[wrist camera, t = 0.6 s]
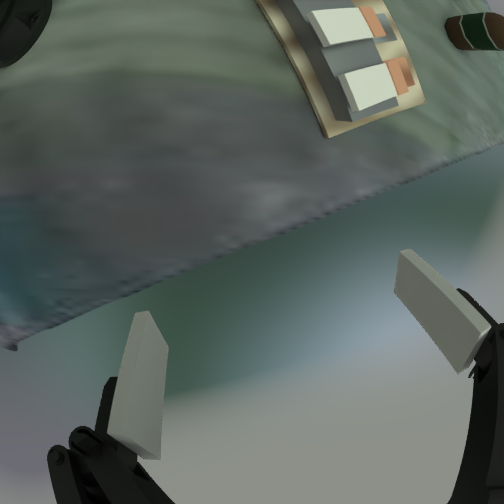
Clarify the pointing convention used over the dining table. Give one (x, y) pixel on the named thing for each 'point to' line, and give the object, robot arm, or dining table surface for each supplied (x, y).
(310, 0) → the switch housing
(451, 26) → the beer bottle
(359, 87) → the switch
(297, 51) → the switch board
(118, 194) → the dining table surface
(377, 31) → the switch middle
